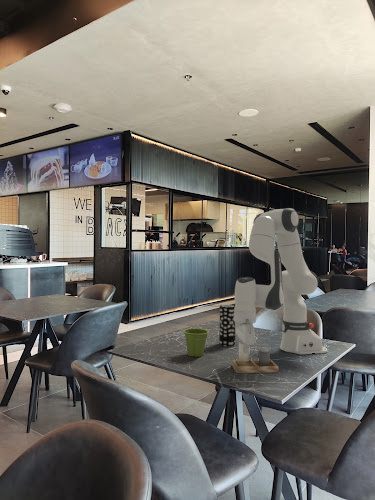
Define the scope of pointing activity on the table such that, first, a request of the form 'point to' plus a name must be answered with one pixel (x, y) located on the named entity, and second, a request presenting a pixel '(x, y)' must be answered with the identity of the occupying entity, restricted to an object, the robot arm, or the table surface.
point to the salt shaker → (241, 354)
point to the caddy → (253, 366)
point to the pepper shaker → (264, 357)
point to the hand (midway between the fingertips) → (244, 351)
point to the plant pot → (195, 341)
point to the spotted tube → (227, 326)
